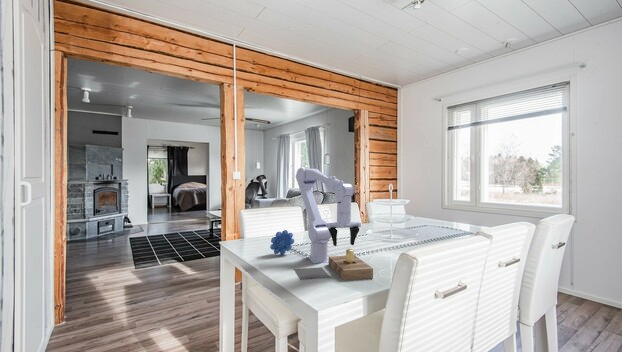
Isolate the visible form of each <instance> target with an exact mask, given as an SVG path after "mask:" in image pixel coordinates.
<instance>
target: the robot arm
mask: <svg viewBox="0 0 622 352" xmlns="http://www.w3.org/2000/svg"><path fill="white" fill-rule="evenodd" d="M295 179H296V182H297V185H298V188H299V192H300V195H301V199H302V201H303V204H304V207H305V209H306V213H307V215H308V219H309V222H310V223H309V224H308V226H307V232H308V239H309V241H310V249H309V250H310V256H308V259H309V260H310V262H312V263H313V264H323V263H324V264H325V263H329V258H328V257H329V256H328V254H329V253H328V252H329V250H328V249H329V242H330V239H331V240H332V246H334V247H338V246H337V237H338V229H343V228H345V229H346V228H349V232H350V233H349V235H350V239H349V240H350V241H349V242H350V245H351V246H354V244H355V241H356V238H357V236H358V234H359V232H360V228H361V227H362V224H361V223H362V222H359V221H352V197H353V195H354V194H355V188H354V186H353V184H351V183H349V182H348V183H345V181H343V180H340V179H339V178H337V176H335V175H332V176H331V175H330V176H327V175H326V174H325V173H322V172H321V171H320V169H317V168H315V167H314V168H306V167H305V168H304V167H299V168H298V169H297V171H296V174H295ZM317 182H320V183H321V184H324V186H325V188H326V189H328V191H331V192H332V193H334V195H335V200H336V222H327V221H325V220H324V219H322V216H321V213H320V210H319V207H318V204H317V201H316V199H315V196H314V193H313V190H312V188H314V187H315V185H316V183H317Z"/></svg>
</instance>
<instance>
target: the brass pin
mask: <svg viewBox="0 0 622 352" xmlns="http://www.w3.org/2000/svg"><path fill="white" fill-rule="evenodd" d="M354 251H355V250H354V249H352V248H346V250H345V256H346V264H353V256H354V255H355V254H354Z"/></svg>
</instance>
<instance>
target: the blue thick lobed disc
mask: <svg viewBox="0 0 622 352" xmlns="http://www.w3.org/2000/svg"><path fill="white" fill-rule="evenodd" d="M293 237H294V234H293V232H289V231H288V229H287V230H286V229H284V230H282V231H277V232H276V233H275V236H273V237H272V238H271V239H270V242H271V244H270V250H273V253H274V255H278V254H280V255H283V256H284V255H285V254H286V252H287V251H288V252H290V251H291V250H292V247H293V246H292V245H294V244H295V239H294V238H293Z"/></svg>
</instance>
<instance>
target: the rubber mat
mask: <svg viewBox="0 0 622 352" xmlns="http://www.w3.org/2000/svg"><path fill="white" fill-rule="evenodd" d="M293 270H294V272H295V274H296V275H297V277H298V279H299V280H300V281H306V280H317V279H318V280H320V279H330V278H331V276H330V275H329V274H328V273H327V272H326V270H325V269H324V268H323V267H320V266H319V267H308V268H307V267H305V268H293Z"/></svg>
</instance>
